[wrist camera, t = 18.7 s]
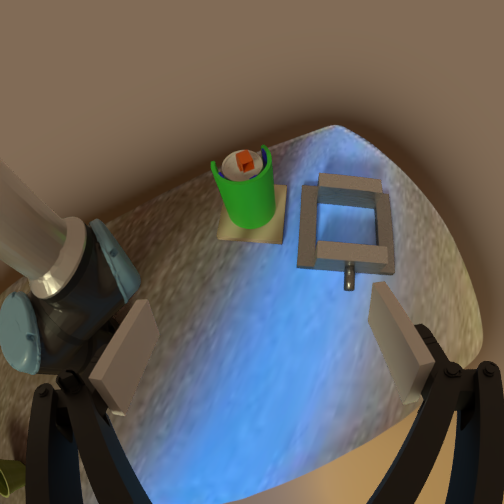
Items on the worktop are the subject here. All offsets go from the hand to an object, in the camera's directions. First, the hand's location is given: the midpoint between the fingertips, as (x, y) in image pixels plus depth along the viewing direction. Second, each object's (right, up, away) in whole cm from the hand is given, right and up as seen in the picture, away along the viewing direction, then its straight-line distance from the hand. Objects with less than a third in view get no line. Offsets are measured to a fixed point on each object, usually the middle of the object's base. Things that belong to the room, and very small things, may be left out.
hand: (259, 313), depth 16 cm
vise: (+17, +6, +35) cm, 40 cm away
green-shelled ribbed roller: (0, +11, +38) cm, 40 cm away
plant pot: (-62, -56, +21) cm, 86 cm away
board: (0, +11, +39) cm, 41 cm away
